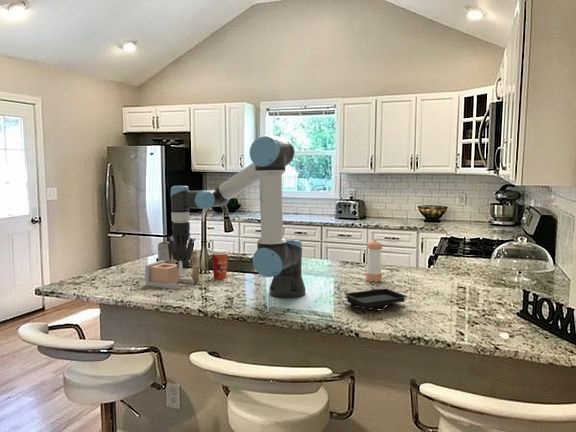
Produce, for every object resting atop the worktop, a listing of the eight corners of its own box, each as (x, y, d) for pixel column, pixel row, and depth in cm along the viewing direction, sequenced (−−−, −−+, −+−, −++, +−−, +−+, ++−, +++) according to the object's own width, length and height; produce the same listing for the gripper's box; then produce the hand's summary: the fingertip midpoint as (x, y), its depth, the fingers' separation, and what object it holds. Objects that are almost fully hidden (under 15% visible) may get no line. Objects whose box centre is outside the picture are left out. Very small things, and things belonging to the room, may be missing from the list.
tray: (353, 293, 200) (354, 281, 199) (410, 299, 192) (410, 286, 192) (338, 313, 172) (338, 300, 171) (403, 321, 164) (403, 306, 164)
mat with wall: (206, 281, 218) (205, 260, 217) (181, 292, 199) (180, 268, 198) (171, 278, 225) (171, 257, 224) (144, 287, 206) (143, 265, 205)
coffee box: (171, 277, 227) (170, 243, 225) (158, 276, 227) (157, 243, 225) (176, 272, 236) (175, 240, 234) (163, 272, 236) (162, 240, 234)
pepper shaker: (380, 278, 227) (382, 239, 225) (382, 282, 219) (383, 241, 217) (365, 278, 227) (366, 238, 225) (366, 281, 220) (367, 241, 218)
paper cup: (219, 282, 216) (219, 252, 215) (208, 280, 221) (208, 250, 220) (231, 279, 222) (231, 250, 221) (220, 277, 227) (220, 248, 226)
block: (180, 282, 211) (180, 264, 211) (168, 287, 203) (167, 268, 202) (163, 280, 215) (163, 263, 214) (151, 285, 206) (150, 267, 206)
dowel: (200, 280, 216) (200, 250, 214) (196, 282, 213) (196, 251, 211) (194, 280, 217) (194, 250, 216) (190, 281, 214) (190, 251, 213)
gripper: (198, 221, 204) (200, 274, 206) (173, 220, 209) (174, 272, 211) (188, 223, 197) (190, 278, 199) (162, 222, 202) (164, 276, 204)
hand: (182, 275), depth 205 cm, fingers closed
